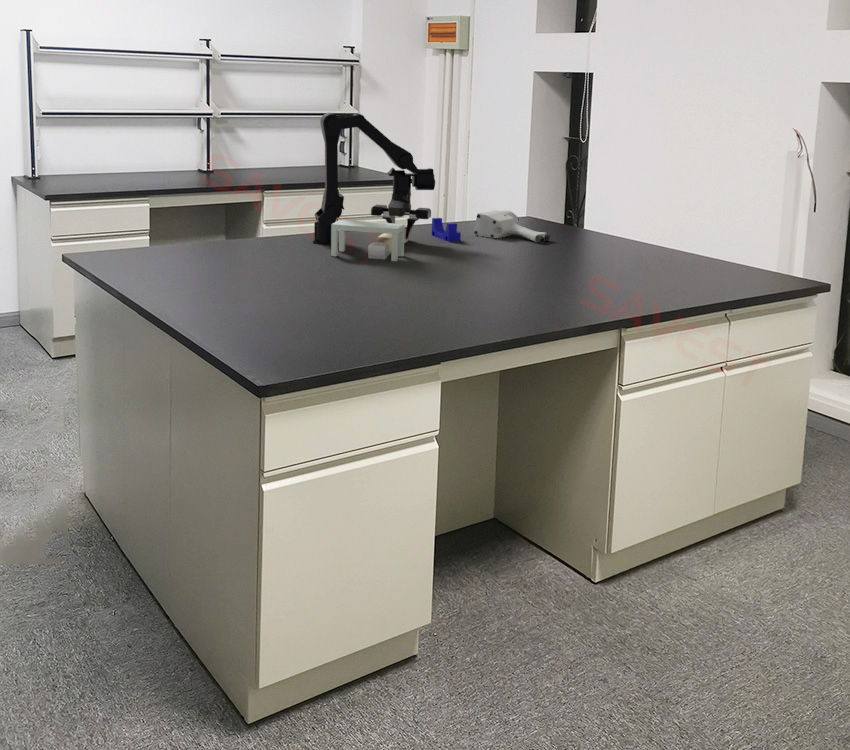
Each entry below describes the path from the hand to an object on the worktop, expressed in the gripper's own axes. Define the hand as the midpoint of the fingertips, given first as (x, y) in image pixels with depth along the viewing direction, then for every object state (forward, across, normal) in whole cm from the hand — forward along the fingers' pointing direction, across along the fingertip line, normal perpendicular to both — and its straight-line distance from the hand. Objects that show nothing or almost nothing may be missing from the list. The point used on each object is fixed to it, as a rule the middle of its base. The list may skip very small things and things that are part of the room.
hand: (400, 238), depth 320 cm
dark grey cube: (+1, 0, -27) cm, 27 cm away
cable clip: (+1, +13, +12) cm, 18 cm away
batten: (+1, 0, -9) cm, 9 cm away
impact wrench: (+2, +36, +26) cm, 45 cm away
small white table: (+1, -4, -26) cm, 26 cm away
